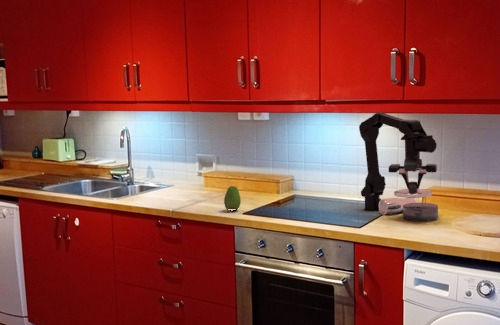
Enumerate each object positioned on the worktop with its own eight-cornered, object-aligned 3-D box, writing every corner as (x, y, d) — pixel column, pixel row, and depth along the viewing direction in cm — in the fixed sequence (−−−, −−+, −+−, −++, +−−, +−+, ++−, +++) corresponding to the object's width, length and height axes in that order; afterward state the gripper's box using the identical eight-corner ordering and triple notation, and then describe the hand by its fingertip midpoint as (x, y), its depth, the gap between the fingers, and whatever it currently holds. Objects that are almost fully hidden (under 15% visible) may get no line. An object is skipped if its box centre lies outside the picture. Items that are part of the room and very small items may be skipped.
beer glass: (418, 203, 255) (389, 207, 249) (412, 214, 259) (383, 218, 254) (410, 192, 259) (381, 195, 254) (405, 203, 264) (376, 206, 258)
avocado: (243, 211, 275) (242, 186, 273) (227, 213, 272) (225, 188, 271) (238, 208, 282) (237, 183, 281) (222, 210, 280) (221, 185, 279)
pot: (399, 223, 237) (399, 211, 236) (405, 213, 254) (404, 202, 253) (436, 224, 232) (436, 212, 231) (439, 214, 249) (439, 202, 248)
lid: (391, 197, 239) (391, 184, 239) (397, 191, 253) (397, 179, 252) (430, 198, 233) (429, 185, 233) (433, 192, 247) (433, 179, 247)
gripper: (385, 153, 238) (386, 192, 240) (434, 153, 231) (435, 192, 232) (390, 150, 248) (391, 187, 250) (436, 150, 241) (437, 187, 243)
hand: (413, 189), depth 243 cm, fingers closed on lid, 3 cm apart
